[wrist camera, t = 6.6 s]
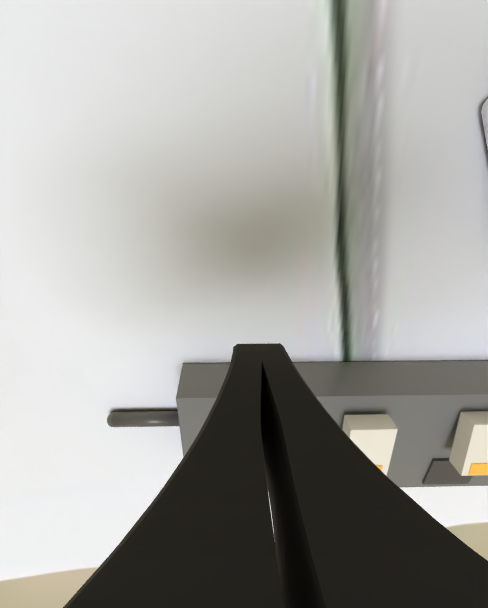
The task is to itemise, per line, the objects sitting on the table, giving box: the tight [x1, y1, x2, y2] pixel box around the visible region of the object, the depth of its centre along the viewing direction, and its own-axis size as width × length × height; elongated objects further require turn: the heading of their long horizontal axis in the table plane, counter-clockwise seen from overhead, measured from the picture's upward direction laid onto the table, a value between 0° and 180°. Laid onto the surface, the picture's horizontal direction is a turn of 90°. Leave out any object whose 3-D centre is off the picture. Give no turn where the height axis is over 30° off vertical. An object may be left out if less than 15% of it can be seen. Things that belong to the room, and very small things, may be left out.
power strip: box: [107, 360, 488, 488], centre depth 23 cm, size 28×9×3 cm, turn 90°
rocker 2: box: [449, 411, 488, 476], centre depth 20 cm, size 3×4×1 cm
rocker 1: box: [342, 414, 398, 476], centre depth 20 cm, size 3×4×1 cm
